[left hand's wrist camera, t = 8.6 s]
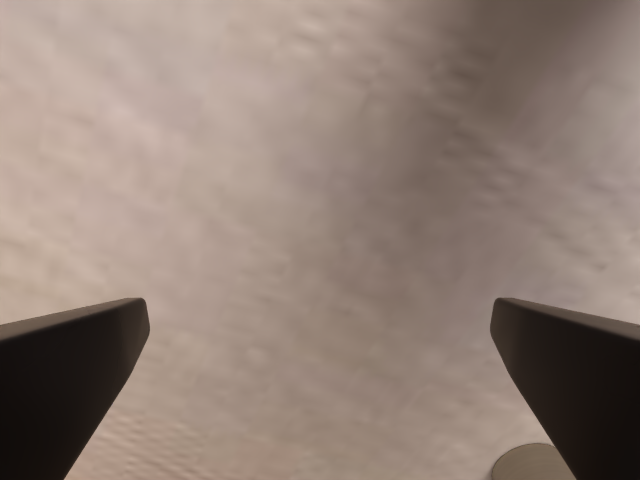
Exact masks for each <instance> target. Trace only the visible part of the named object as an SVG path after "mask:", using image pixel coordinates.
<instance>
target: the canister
mask: <svg viewBox="0 0 640 480" xmlns="http://www.w3.org/2000/svg"><path fill="white" fill-rule="evenodd" d="M492 480H576V478H575V477H574V475H573V474H572V472H571V471H570V469H569V468H568V466H567V464H566V463H565V461H564V460H563V458H562V457H561V455H560V453H559V452H558V450H557V449H556V448H555V447H553V446H550V445H545V444H528V445H523V446H520V447H517V448H515V449H512V450H511V451H509V452H507V453H506V454H504V455H503V456H502V457H501V458H500V459H499V460H498V461H497V463H496V464H495V466H494V468H493V472H492Z"/></svg>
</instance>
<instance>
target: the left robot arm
mask: <svg viewBox="0 0 640 480" xmlns="http://www.w3.org/2000/svg"><path fill="white" fill-rule="evenodd" d="M149 332H150V325H149V318H148V312H147V306H146V302H145V300H144V299H143V298H125V299H120V300H116V301H111V302H106V303H101V304H97V305H92V306H87V307H83V308H78V309H73V310H68V311H64V312H59V313H54V314H50V315H45V316H40V317H35V318H31V319H26V320H21V321H17V322H12V323H7V324H2V325H0V480H64V479H65V477H66V475H67V474H68V472H69V471H70V469H71V468H72V466H73V464H74V463H75V461H76V460H77V458H78V457H79V455H80V454H81V452H82V450H83V449H84V447H85V446H86V444H87V443H88V441H89V439H90V438H91V436H92V435H93V433H94V432H95V430H96V429H97V427H98V425H99V424H100V422H101V421H102V419H103V418H104V416H105V414H106V413H107V411H108V410H109V408H110V407H111V405H112V404H113V402H114V400H115V399H116V397H117V396H118V394H119V393H120V391H121V389H122V388H123V386H124V385H125V383H126V381H127V380H128V378H129V376H130V374H131V373H132V371H133V369H134V366H135V364H136V362H137V360H138V358H139V356H140V354H141V352H142V349H143V347H144V345H145V343H146V341H147V339H148V336H149ZM490 332H491V336H492V339H493V341H494V343H495V345H496V347H497V349H498V352H499V354H500V356H501V358H502V360H503V362H504V364H505V366H506V369H507V371H508V373H509V374H510V376H511V378H512V380H513V381H514V383H515V385H516V386H517V388H518V389H519V391H520V393H521V394H522V396H523V397H524V399H525V400H526V402H527V403H528V405H529V407H530V408H531V410H532V411H533V413H534V414H535V416H536V418H537V419H538V421H539V422H540V424H541V425H542V427H543V428H544V430H545V432H546V433H547V435H548V436H549V438H550V439H551V441H552V443H553V444H554V446H555V447H556V449H557V450H558V452H559V453H560V455H561V457H562V458H563V460H564V461H565V463H566V464H567V466H568V468H569V469H570V471H571V472H572V474H573V475H574V477H575V478H576V480H640V325H638V324H633V323H628V322H624V321H619V320H614V319H609V318H605V317H600V316H595V315H591V314H586V313H581V312H576V311H572V310H567V309H562V308H557V307H553V306H548V305H543V304H539V303H534V302H529V301H524V300H520V299H515V298H497V299H496V300H495V302H494V306H493V312H492V318H491V325H490Z"/></svg>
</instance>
